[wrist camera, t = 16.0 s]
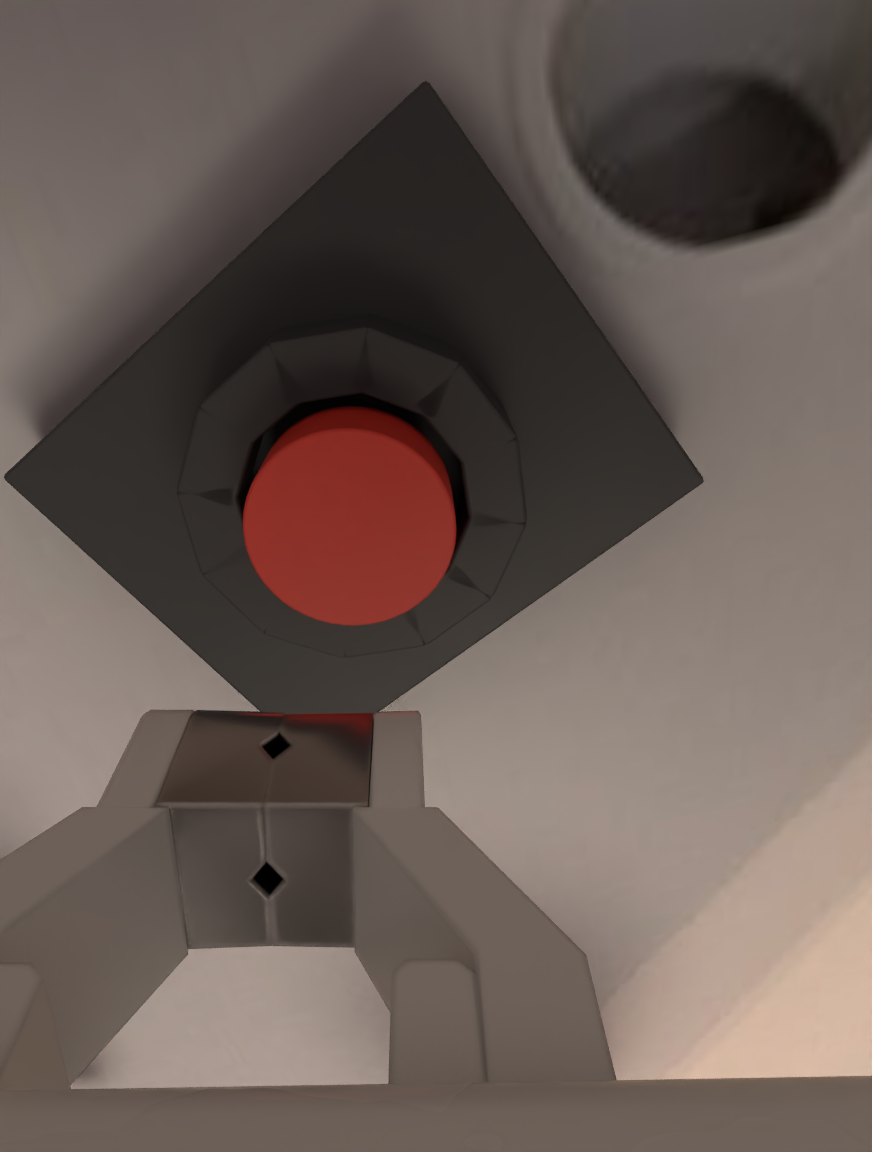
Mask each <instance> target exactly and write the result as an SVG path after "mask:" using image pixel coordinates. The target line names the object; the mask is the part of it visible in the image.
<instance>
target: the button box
mask: <svg viewBox="0 0 872 1152" xmlns="http://www.w3.org/2000/svg"><path fill="white" fill-rule="evenodd" d="M342 406H363V407H369V408H375V409H378V410H382V411H385V412H388V413H390V414H393V415H395V416H397V417H399V418H401V419H403V420H405V421H406V422H408V423H409V424H411V425H412V426H414V427H415V428H416V429H417V430H419V431H420V432H421V433H422V434H423V435H424V436H425V437H426V438H427V439H428V440H429V441H430V442H431V444H432V445H433V446H434V448H435V449H436V450H437V452H438V453H439V455H440V457H441V459H442V461H443V463H444V465H445V467H446V470H447V473H448V475H449V480H450V484H451V489H452V496H453V503H454V509H455V517H456V542H455V547H454V552H453V556H452V558H451V561H450V564H449V566H448V568H447V570H446V572H445V574H444V576H443V578H442V579H441V581H440V582H439V583H438V585H437V586H436V588H435V589H434V590H433V591H432V592H431V593H430V594H429V595H428V596H427V597H426V598H425V599H424V600H422V601H421V602H420V603H419V604H418V605H416V606H415V607H413V608H412V609H410V610H408V611H407V612H405V613H403V614H401V615H399V616H397V617H395V618H392V619H389V620H386V621H383V622H378V623H373V624H367V625H339V624H331V623H327V622H323V621H319V620H316V619H314V618H311V617H308V616H306V615H304V614H302V613H300V612H298V611H296V610H294V609H293V608H291V607H290V606H288V605H287V604H285V603H284V602H283V601H281V600H280V599H279V598H278V597H277V596H276V595H275V594H273V593H272V591H271V590H270V589H269V588H268V587H267V586H266V585H265V584H264V582H263V581H262V579H261V578H260V576H259V575H258V574H257V572H256V570H255V568H254V566H253V564H252V562H251V560H250V558H249V555H248V552H247V549H246V545H245V540H244V535H243V512H244V506H245V501H246V497H247V494H248V492H249V489H250V486H251V484H252V482H253V480H254V478H255V476H256V475H257V473H258V471H259V469H260V467H261V465H262V463H263V462H264V460H265V458H266V456H267V454H268V453H269V451H270V449H271V447H272V446H273V445H274V443H275V442H276V441H277V440H278V438H279V437H280V436H281V435H282V434H283V433H284V432H285V431H286V430H287V429H288V428H290V427H291V426H292V425H294V424H295V423H296V422H298V421H299V420H301V419H303V418H305V417H307V416H309V415H311V414H313V413H316V412H319V411H321V410H325V409H330V408H334V407H342ZM4 479H5V480H6V481H7V482H8V483H9V484H10V485H11V486H13V487H14V488H15V489H16V490H17V491H18V492H19V493H20V494H21V495H22V496H24V497H25V498H26V499H27V500H28V501H29V502H30V503H31V504H32V505H33V506H35V507H36V508H37V509H38V510H39V511H40V512H41V513H42V514H43V515H44V516H46V517H47V518H48V519H49V520H50V521H51V522H52V523H53V524H54V525H55V526H57V527H58V528H59V529H60V530H61V531H62V532H63V533H64V534H65V535H67V536H68V537H69V538H70V539H71V540H72V541H73V542H74V543H75V544H76V545H78V546H79V547H80V548H81V549H82V550H83V551H84V552H85V553H86V554H87V555H89V556H90V557H91V558H92V559H93V560H94V561H95V562H96V563H97V564H98V565H100V566H101V567H102V568H103V569H104V570H105V571H106V572H107V573H108V574H109V575H111V576H112V577H113V578H114V579H115V580H116V581H117V582H118V583H119V584H120V585H122V586H123V587H124V588H125V589H126V590H127V591H128V592H129V593H130V594H131V595H133V596H134V597H135V598H136V599H137V600H138V601H139V602H140V603H141V604H142V605H144V606H145V607H146V608H147V609H148V610H149V611H150V612H151V613H152V614H153V615H155V616H156V617H157V618H158V619H159V620H160V621H161V622H162V623H163V624H165V625H166V626H167V627H168V628H169V629H170V630H171V631H172V632H173V633H174V634H176V635H177V636H178V637H179V638H180V639H181V640H182V641H183V642H184V643H185V644H187V645H188V646H189V647H190V648H191V649H192V650H193V651H194V652H195V653H196V654H198V655H199V656H200V657H201V658H202V659H203V660H204V661H205V662H206V663H207V664H209V665H210V666H211V667H212V668H213V669H214V670H215V671H216V672H217V673H218V674H220V675H221V676H222V677H223V678H224V679H225V680H226V681H227V682H228V683H229V684H231V685H232V686H233V687H234V688H235V689H236V690H237V691H238V692H239V693H240V694H242V695H243V696H244V697H245V698H246V699H247V700H248V701H249V702H250V703H251V704H253V705H254V706H255V707H256V708H257V709H258V710H259V711H260V712H284V713H286V714H307V713H373V714H375V712H379V711H380V710H382V709H383V708H384V707H386V706H387V705H389V704H390V703H392V702H393V701H394V700H396V699H397V698H399V697H400V696H401V695H403V694H404V693H406V692H407V691H409V690H410V689H411V688H413V687H414V686H416V685H417V684H418V683H420V682H421V681H423V680H424V679H426V678H427V677H428V676H430V675H431V674H433V673H434V672H435V671H437V670H438V669H440V668H441V667H443V666H444V665H445V664H447V663H448V662H450V661H451V660H452V659H454V658H455V657H457V656H458V655H460V654H461V653H462V652H464V651H465V650H467V649H468V648H469V647H471V646H472V645H474V644H475V643H477V642H478V641H479V640H481V639H482V638H484V637H485V636H486V635H488V634H489V633H491V632H492V631H494V630H495V629H496V628H498V627H499V626H501V625H502V624H503V623H505V622H506V621H508V620H509V619H511V618H512V617H513V616H515V615H516V614H518V613H519V612H520V611H522V610H523V609H525V608H526V607H528V606H529V605H530V604H532V603H533V602H535V601H536V600H537V599H539V598H540V597H542V596H543V595H545V594H546V593H547V592H549V591H550V590H552V589H553V588H554V587H556V586H557V585H559V584H560V583H562V582H563V581H564V580H566V579H567V578H569V577H570V576H571V575H573V574H574V573H576V572H577V571H579V570H580V569H581V568H583V567H584V566H586V565H587V564H588V563H590V562H591V561H593V560H594V559H596V558H597V557H598V556H600V555H601V554H603V553H604V552H605V551H607V550H608V549H610V548H611V547H613V546H614V545H615V544H617V543H618V542H620V541H621V540H622V539H624V538H625V537H627V536H628V535H630V534H631V533H632V532H634V531H635V530H637V529H638V528H639V527H641V526H642V525H644V524H645V523H647V522H648V521H649V520H651V519H652V518H654V517H655V516H656V515H658V514H659V513H661V512H662V511H664V510H665V509H666V508H668V507H669V506H671V505H672V504H673V503H675V502H676V501H678V500H679V499H681V498H682V497H683V496H685V495H686V494H688V493H689V492H690V491H692V490H693V489H695V488H696V487H698V486H699V485H700V484H702V483H703V482H704V480H703V477H702V476H701V474H700V473H699V471H698V470H697V468H696V467H695V466H694V464H693V463H692V461H691V460H690V458H689V457H688V455H687V454H686V453H685V451H684V450H683V448H682V447H681V445H680V444H679V442H678V441H677V440H676V438H675V437H674V435H673V434H672V432H671V431H670V429H669V428H668V427H667V425H666V424H665V422H664V421H663V419H662V418H661V416H660V415H659V414H658V412H657V411H656V409H655V408H654V406H653V405H652V404H651V402H650V401H649V399H648V398H647V396H646V395H645V393H644V392H643V391H642V389H641V388H640V386H639V385H638V383H637V382H636V380H635V379H634V378H633V376H632V375H631V373H630V372H629V370H628V369H627V367H626V366H625V365H624V363H623V362H622V360H621V359H620V357H619V356H618V354H617V353H616V352H615V350H614V349H613V347H612V346H611V344H610V343H609V342H608V340H607V339H606V337H605V336H604V334H603V333H602V331H601V330H600V329H599V327H598V326H597V324H596V323H595V321H594V320H593V318H592V317H591V316H590V314H589V313H588V311H587V310H586V308H585V307H584V305H583V304H582V303H581V301H580V300H579V298H578V297H577V295H576V294H575V292H574V291H573V290H572V288H571V287H570V285H569V284H568V282H567V281H566V280H565V278H564V277H563V275H562V274H561V272H560V271H559V269H558V268H557V267H556V265H555V264H554V262H553V261H552V259H551V258H550V256H549V255H548V254H547V252H546V251H545V249H544V248H543V246H542V245H541V243H540V242H539V241H538V239H537V238H536V236H535V235H534V233H533V232H532V230H531V229H530V228H529V226H528V225H527V223H526V222H525V220H524V219H523V218H522V216H521V215H520V213H519V212H518V210H517V209H516V207H515V206H514V205H513V203H512V202H511V200H510V199H509V197H508V196H507V194H506V193H505V192H504V190H503V189H502V187H501V186H500V184H499V183H498V181H497V180H496V179H495V177H494V176H493V174H492V173H491V171H490V170H489V168H488V167H487V166H486V164H485V163H484V161H483V160H482V158H481V157H480V156H479V154H478V153H477V151H476V150H475V148H474V147H473V145H472V144H471V143H470V141H469V140H468V138H467V137H466V135H465V134H464V132H463V131H462V130H461V128H460V127H459V125H458V124H457V122H456V121H455V119H454V118H453V117H452V115H451V114H450V112H449V111H448V109H447V108H446V106H445V105H444V104H443V102H442V101H441V99H440V98H439V96H438V95H437V94H436V92H435V91H434V89H433V88H432V86H431V85H430V83H428V82H427V81H425V82H423V83H421V84H420V85H419V86H418V87H417V88H416V89H415V90H414V91H413V92H412V93H411V94H410V95H409V96H408V97H407V98H405V99H404V100H403V101H402V102H401V103H400V104H399V105H398V106H397V107H396V108H395V109H394V110H393V111H392V112H391V113H389V114H388V115H387V116H386V117H385V118H384V119H383V120H382V121H381V122H380V123H379V124H378V125H377V126H376V127H375V128H374V129H372V130H371V131H370V132H369V133H368V134H367V135H366V136H365V137H364V138H363V139H362V140H361V141H360V142H359V143H358V144H356V145H355V146H354V147H353V148H352V149H351V150H350V151H349V152H348V153H347V154H346V155H345V156H344V157H343V158H342V159H340V160H339V161H338V162H337V163H336V164H335V165H334V166H333V167H332V168H331V169H330V170H329V171H328V172H327V173H326V174H325V175H323V176H322V177H321V178H320V179H319V180H318V181H317V182H316V183H315V184H314V185H313V186H312V187H311V188H310V189H309V190H307V191H306V192H305V193H304V194H303V195H302V196H301V197H300V198H299V199H298V200H297V201H296V202H295V203H294V204H293V205H291V206H290V207H289V208H288V209H287V210H286V211H285V212H284V213H283V214H282V215H281V216H280V217H279V218H278V219H277V220H276V221H274V222H273V223H272V224H271V225H270V226H269V227H268V228H267V229H266V230H265V231H264V232H263V233H262V234H261V235H260V236H258V237H257V238H256V239H255V240H254V241H253V242H252V243H251V244H250V245H249V246H248V247H247V248H246V249H245V250H244V251H242V252H241V253H240V254H239V255H238V256H237V257H236V258H235V259H234V260H233V261H232V262H231V263H230V264H229V265H228V266H227V267H225V268H224V269H223V270H222V271H221V272H220V273H219V274H218V275H217V276H216V277H215V278H214V279H213V280H212V281H211V282H209V283H208V284H207V285H206V286H205V287H204V288H203V289H202V290H201V291H200V292H199V293H198V294H197V295H196V296H195V297H193V298H192V299H191V300H190V301H189V302H188V303H187V304H186V305H185V306H184V307H183V308H182V309H181V310H180V311H179V312H178V313H176V314H175V315H174V316H173V317H172V318H171V319H170V320H169V321H168V322H167V323H166V324H165V325H164V326H163V327H162V328H160V329H159V330H158V331H157V332H156V333H155V334H154V335H153V336H152V337H151V338H150V339H149V340H148V341H147V342H146V343H144V344H143V345H142V346H141V347H140V348H139V349H138V350H137V351H136V352H135V353H134V354H133V355H132V356H131V357H130V358H129V359H127V360H126V361H125V362H124V363H123V364H122V365H121V366H120V367H119V368H118V369H117V370H116V371H115V372H114V373H113V374H111V375H110V376H109V377H108V378H107V379H106V380H105V381H104V382H103V383H102V384H101V385H100V386H99V387H98V388H97V389H95V390H94V391H93V392H92V393H91V394H90V395H89V396H88V397H87V398H86V399H85V400H84V401H83V402H82V403H81V404H80V405H78V406H77V407H76V408H75V409H74V410H73V411H72V412H71V413H70V414H69V415H68V416H67V417H66V418H65V419H64V420H62V421H61V422H60V423H59V424H58V425H57V426H56V427H55V428H54V429H53V430H52V431H51V432H50V433H49V434H48V435H46V436H45V437H44V438H43V439H42V440H41V441H40V442H39V443H38V444H37V445H36V446H35V447H34V448H33V449H32V450H30V451H29V452H28V453H27V454H26V455H25V456H24V457H23V458H22V459H21V460H20V461H19V462H18V463H17V464H16V465H15V466H13V467H12V468H11V469H10V470H9V471H8V472H7V473H6V474H5V476H4Z"/></svg>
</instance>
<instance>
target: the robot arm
mask: <svg viewBox="0 0 872 1152" xmlns="http://www.w3.org/2000/svg"><path fill="white" fill-rule="evenodd" d="M253 946H305V947H355V953H356V955H357V956H358V958H359V960H360V961H361V963H362V965H363V967H364V968H365V970H366V972H367V973H368V975H369V977H370V979H371V980H372V982H373V984H374V985H375V987H376V989H377V991H378V992H379V994H380V996H381V997H382V999H383V1001H384V1003H385V1004H386V1006H387V1008H388V1009H389V1011H390V1013H391V1017H390V1051H389V1084H360V1085H300V1086H241V1087H183V1088H125V1089H71V1088H70V1085H71V1084H72V1083H73V1082H74V1081H75V1080H76V1079H77V1077H78V1076H79V1075H80V1074H81V1073H82V1072H83V1071H84V1070H85V1069H86V1067H87V1066H88V1065H89V1064H90V1063H91V1062H92V1061H93V1060H94V1058H95V1057H96V1056H97V1055H98V1054H99V1053H100V1052H101V1051H102V1050H103V1048H104V1047H105V1046H106V1045H107V1044H108V1043H109V1042H110V1041H111V1039H112V1038H113V1037H114V1036H115V1035H116V1034H117V1033H118V1032H119V1031H120V1029H121V1028H122V1027H123V1026H124V1025H125V1024H126V1023H127V1022H128V1020H129V1019H130V1018H131V1017H132V1016H133V1015H134V1014H135V1013H136V1012H137V1010H138V1009H139V1008H140V1007H141V1006H142V1005H143V1004H144V1003H145V1002H146V1000H147V999H148V998H149V997H150V996H151V995H152V994H153V993H154V991H155V990H156V989H157V988H158V987H159V986H160V985H161V984H162V983H163V981H164V980H165V979H166V978H167V977H168V976H169V975H170V974H171V972H172V971H173V970H174V969H175V968H176V967H177V966H178V965H179V964H180V962H181V961H182V960H183V959H184V958H185V957H186V956H187V955H188V949H199V948H226V947H253ZM0 1152H872V1076H838V1077H780V1078H722V1079H664V1080H616V1076H615V1072H614V1068H613V1064H612V1060H611V1056H610V1051H609V1047H608V1043H607V1039H606V1035H605V1031H604V1027H603V1023H602V1019H601V1014H600V1010H599V1006H598V1002H597V998H596V994H595V990H594V986H593V982H592V978H591V973H590V969H589V965H588V961H587V957H586V954H585V953H584V952H583V951H582V950H581V949H580V948H579V947H578V946H577V945H576V944H575V943H574V942H573V941H572V940H571V939H570V938H569V937H568V936H567V935H566V934H565V933H564V932H563V931H562V930H561V929H560V928H559V927H558V926H557V925H556V924H555V923H554V922H553V921H552V920H551V919H550V918H549V917H548V916H547V915H546V914H545V913H544V912H543V911H542V910H541V909H540V908H539V907H538V906H537V905H536V904H535V903H534V902H533V901H532V900H531V899H530V898H529V897H528V896H526V895H525V894H524V893H523V892H522V891H521V890H520V889H519V888H518V887H517V886H516V885H515V884H514V883H513V882H512V881H511V880H510V879H509V878H508V877H507V876H506V875H505V874H504V873H503V872H502V871H501V870H500V869H499V868H498V867H497V866H496V865H495V864H494V863H493V862H492V861H491V860H490V859H489V858H488V857H487V856H486V855H485V854H484V853H483V852H482V851H481V850H480V849H479V848H478V847H477V846H476V845H475V844H474V843H473V842H472V841H471V840H470V839H469V838H468V837H467V836H466V835H465V834H464V833H463V832H462V831H461V830H460V829H459V828H458V827H457V826H456V825H455V824H454V823H453V822H452V821H451V820H450V819H449V818H448V817H447V816H446V815H445V814H444V813H443V812H442V811H441V810H440V809H439V808H437V807H425V801H424V776H423V752H422V728H421V715H420V713H419V712H418V711H392V712H375V714H373V713H307V714H286V713H284V712H247V711H210V710H197V711H196V712H195V711H193V710H150V711H148V712H146V713H145V714H144V715H143V716H142V717H141V719H140V721H139V723H138V725H137V727H136V729H135V731H134V733H133V735H132V737H131V739H130V741H129V743H128V745H127V747H126V749H125V751H124V753H123V755H122V757H121V759H120V761H119V763H118V765H117V767H116V769H115V771H114V773H113V775H112V777H111V779H110V781H109V783H108V785H107V787H106V789H105V791H104V793H103V795H102V797H101V799H100V801H99V803H98V805H97V807H82V808H80V809H79V810H77V811H76V812H74V813H73V814H71V815H69V816H68V817H66V818H65V819H63V820H62V821H60V822H59V823H57V824H55V825H54V826H52V827H51V828H49V829H48V830H46V831H45V832H43V833H41V834H40V835H38V836H37V837H35V838H34V839H32V840H31V841H29V842H27V843H26V844H24V845H23V846H21V847H20V848H18V849H16V850H15V851H13V852H12V853H10V854H9V855H7V856H6V857H4V858H2V859H1V860H0Z"/></svg>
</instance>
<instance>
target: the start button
mask: <svg viewBox="0 0 872 1152" xmlns="http://www.w3.org/2000/svg"><path fill="white" fill-rule="evenodd" d="M243 535H244V540H245V545H246V549H247V552H248V555H249V558H250V560H251V562H252V564H253V566H254V568H255V570H256V572H257V574H258V575H259V576H260V578H261V579H262V581H263V582H264V584H265V585H266V586H267V587H268V588H269V589H270V590H271V591H272V593H273V594H275V595H276V596H277V597H278V598H279V599H280V600H281V601H283V602H284V603H285V604H287V605H288V606H290V607H291V608H293V609H294V610H296V611H298V612H300V613H302V614H304V615H306V616H308V617H311V618H314V619H316V620H319V621H323V622H327V623H331V624H339V625H367V624H373V623H378V622H383V621H386V620H389V619H392V618H395V617H397V616H399V615H401V614H403V613H405V612H407V611H408V610H410V609H412V608H413V607H415V606H416V605H418V604H419V603H420V602H421V601H422V600H424V599H425V598H426V597H427V596H428V595H429V594H430V593H431V592H432V591H433V590H434V589H435V588H436V586H437V585H438V583H439V582H440V581H441V579H442V578H443V576H444V574H445V572H446V570H447V568H448V566H449V564H450V561H451V558H452V556H453V552H454V547H455V542H456V517H455V509H454V503H453V496H452V489H451V484H450V480H449V475H448V473H447V470H446V467H445V465H444V463H443V461H442V459H441V457H440V455H439V453H438V452H437V450H436V449H435V448H434V446H433V445H432V444H431V442H430V441H429V440H428V439H427V438H426V437H425V436H424V435H423V434H422V433H421V432H420V431H419V430H417V429H416V428H415V427H414V426H412V425H411V424H409V423H408V422H406V421H405V420H403V419H401V418H399V417H397V416H395V415H393V414H390V413H388V412H385V411H382V410H378V409H375V408H369V407H363V406H342V407H334V408H330V409H325V410H321V411H319V412H316V413H313V414H311V415H309V416H307V417H305V418H303V419H301V420H299V421H298V422H296V423H295V424H294V425H292V426H291V427H290V428H288V429H287V430H286V431H285V432H284V433H283V434H282V435H281V436H280V437H279V438H278V440H277V441H276V442H275V443H274V445H273V446H272V447H271V449H270V451H269V453H268V454H267V456H266V458H265V460H264V462H263V463H262V465H261V467H260V469H259V471H258V473H257V475H256V476H255V478H254V480H253V482H252V484H251V486H250V489H249V492H248V494H247V497H246V501H245V506H244V512H243Z"/></svg>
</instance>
